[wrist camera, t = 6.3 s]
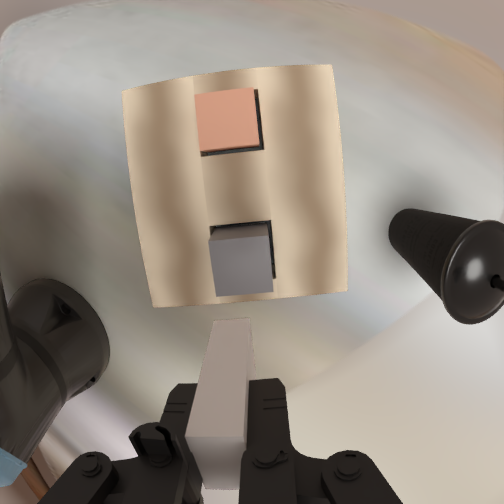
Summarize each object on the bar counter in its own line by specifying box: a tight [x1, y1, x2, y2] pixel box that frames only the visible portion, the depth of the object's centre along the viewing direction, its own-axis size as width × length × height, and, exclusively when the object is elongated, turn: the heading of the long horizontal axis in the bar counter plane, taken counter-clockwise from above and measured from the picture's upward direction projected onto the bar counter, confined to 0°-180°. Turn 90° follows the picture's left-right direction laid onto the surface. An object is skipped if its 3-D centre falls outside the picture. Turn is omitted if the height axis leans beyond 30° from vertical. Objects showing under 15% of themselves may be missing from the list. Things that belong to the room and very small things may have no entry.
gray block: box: [208, 222, 274, 297], centre depth 27 cm, size 4×4×5 cm
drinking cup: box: [389, 209, 504, 324], centre depth 22 cm, size 8×8×20 cm
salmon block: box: [194, 87, 259, 152], centre depth 25 cm, size 4×4×5 cm
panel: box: [122, 65, 348, 308], centre depth 28 cm, size 18×20×4 cm
